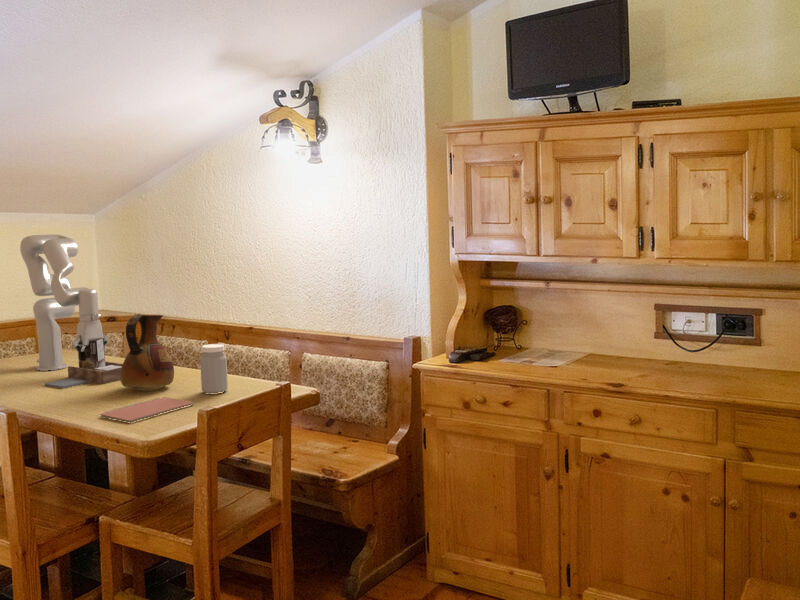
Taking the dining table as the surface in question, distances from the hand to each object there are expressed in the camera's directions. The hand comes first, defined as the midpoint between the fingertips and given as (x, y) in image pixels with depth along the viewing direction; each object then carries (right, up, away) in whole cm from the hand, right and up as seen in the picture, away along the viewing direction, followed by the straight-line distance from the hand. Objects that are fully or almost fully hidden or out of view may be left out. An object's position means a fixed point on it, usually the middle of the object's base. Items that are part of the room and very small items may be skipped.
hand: (91, 358), depth 319 cm
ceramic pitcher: (+32, -10, -25) cm, 42 cm away
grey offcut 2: (+11, -8, -6) cm, 16 cm away
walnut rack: (+4, -8, -2) cm, 9 cm away
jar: (+60, -11, -31) cm, 68 cm away
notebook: (+43, -15, -58) cm, 74 cm away
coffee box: (0, -8, +1) cm, 8 cm away
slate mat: (-4, -9, -14) cm, 17 cm away
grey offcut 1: (+8, -8, -4) cm, 12 cm away
